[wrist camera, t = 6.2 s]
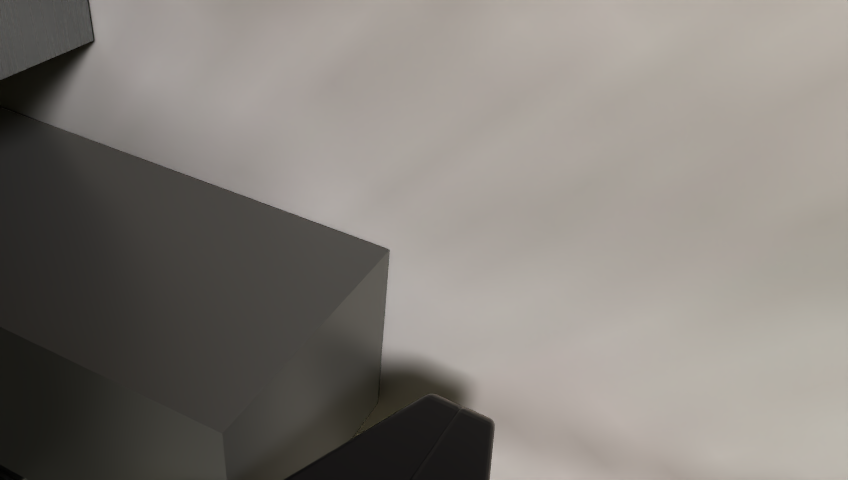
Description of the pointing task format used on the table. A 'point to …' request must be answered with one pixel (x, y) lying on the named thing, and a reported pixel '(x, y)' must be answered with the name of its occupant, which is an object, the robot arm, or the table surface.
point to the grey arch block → (39, 48)
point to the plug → (171, 321)
